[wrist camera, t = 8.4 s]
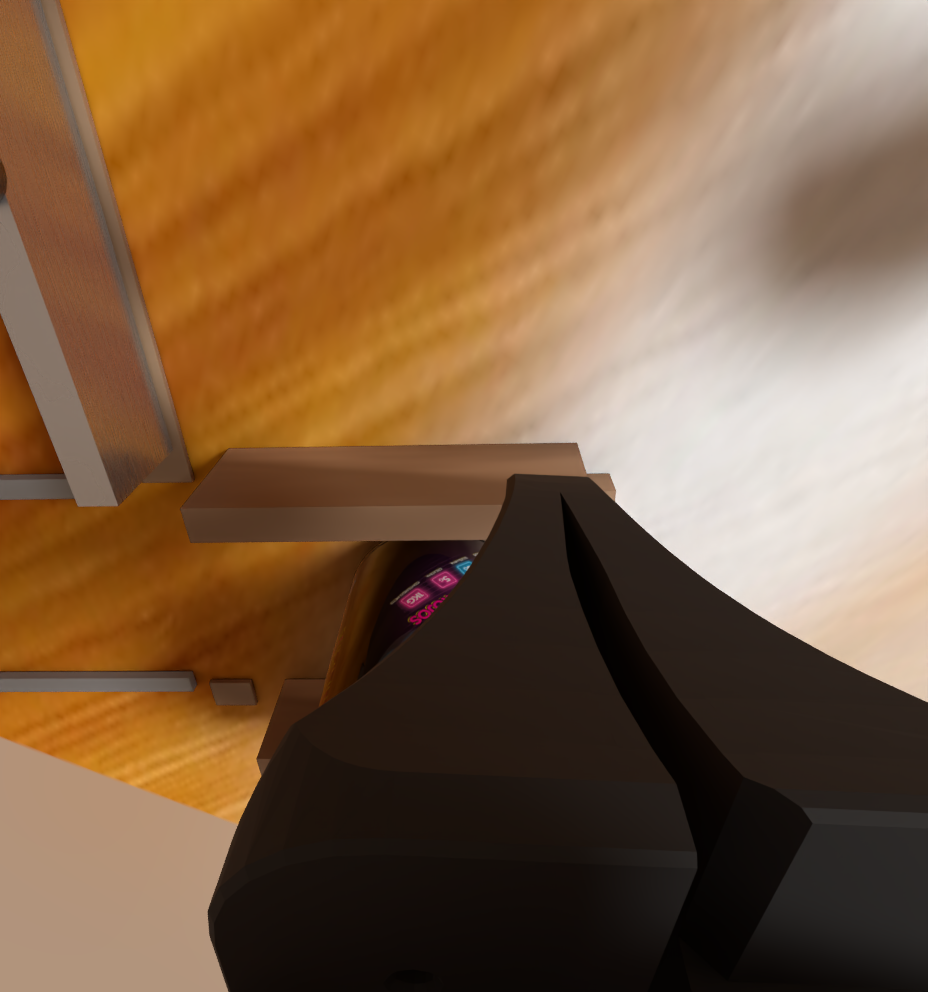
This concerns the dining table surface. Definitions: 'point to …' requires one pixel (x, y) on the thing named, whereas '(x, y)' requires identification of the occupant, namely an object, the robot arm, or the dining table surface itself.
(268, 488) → the holder
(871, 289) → the dining table surface
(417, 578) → the supplement container
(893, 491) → the dining table surface
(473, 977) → the robot arm
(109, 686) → the bay
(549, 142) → the dining table surface
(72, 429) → the latch bar
